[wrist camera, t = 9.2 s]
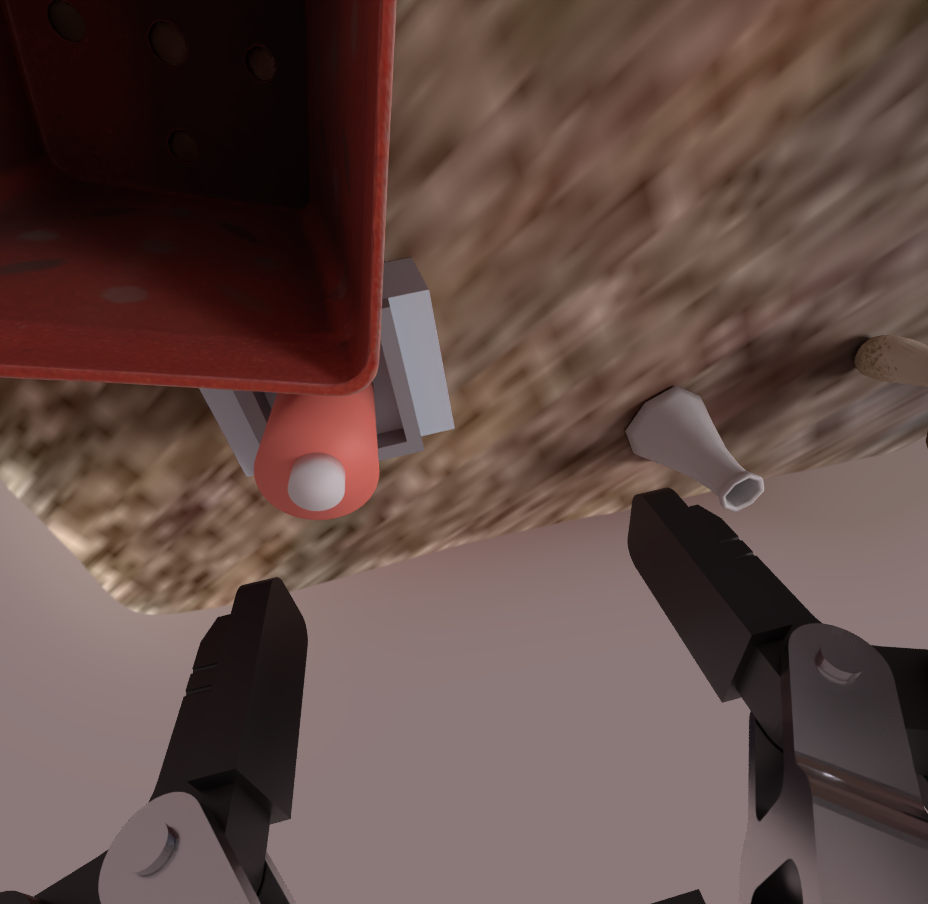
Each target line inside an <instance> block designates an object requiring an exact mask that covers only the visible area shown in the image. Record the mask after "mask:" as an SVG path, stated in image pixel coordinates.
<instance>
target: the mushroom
mask: <svg viewBox="0 0 928 904" xmlns="http://www.w3.org/2000/svg"><path fill="white" fill-rule="evenodd" d="M855 365H856V368H857V369H858V370H859V371H860V373H861V374H863V375H865V376H868V377H870V378H873V379H876V380H879V381H885V382H894V383H903V384H911V385H919V386H927V387H928V346H926V345H924V344H922V343H919V342H917V341H915V340H912V339H908V338H904V337H900V336H896V335H884V336H877V337H873V338H871V339H869V340H868V341H866V342H865V343H864V344H862V345H861V347H860V348H859V350H858V352H857V354H856V356H855ZM926 444H927V447H928V432H927V437H926Z"/></svg>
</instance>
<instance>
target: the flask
mask: <svg viewBox="0 0 928 904" xmlns="http://www.w3.org/2000/svg"><path fill="white" fill-rule="evenodd" d="M625 432H626V434H627V437H628V440H629V442H630V445H631V448H632V451H633V453H634V454H636V455H638V456H641V457H643V458H646V459H648V460H651V461H654V462H656V463H659V464H661V465H664V466H666V467H669V468H671V469H673V470H676V471H678V472H680V473H683V474H685V475H687V476H690V477H692V478H693V479H695V480H696V481H698V482H700V483H701V484H703V485H704V486H706V487H707V488H709V489H710V490H711V491H712V492H713V493H714V494H716V495H717V496H718V497H719V500H720V504H721V506H722V507H723V508H725V509H728V510H731V511H734V512H737V511H738V510H741V509H743V508H744V507H746V506H748V505H750V504H752V503H753V502H754V501H755V500H756V499H757V498H758V497H759V496H760V494H761V493H762V492H763V491H764V484H763V478H761V477H760V476H758V475H755V474H753V473H750V472H747V471H746V470H745V469H744V468H742V467H741V466H740V465H739V464H738V463H737V461H736V460H735V459H734V458H733V456H732V455H731V454H730V453H729V451H728V450H727V449H726V447H725V445H724V443H723V442H722V440H721V438H720V436H719V434H718V432H717V430H716V428H715V426H714V424H713V422H712V420H711V418H710V416H709V414H708V412H707V409H706V407H705V405H704V403H703V401H702V399H701V397H700V396H699V395H697V394H694V393H692V392H690V391H687V390H685V389H683V388H681V387H678V386H674V387H673V388H671V389H669V390H667V391H665V392H664V393H662V394H660V395H658V396H656V397H654V398H653V399H651V400H649V401H647V402H645V403H644V405H643V406H642V407H641V409H640V410H639V412H638V413H637V415H636V416H635V418H634V419H633V420H632V422H631V423H630V425H629V426H628V428H627V429H626V431H625Z"/></svg>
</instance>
